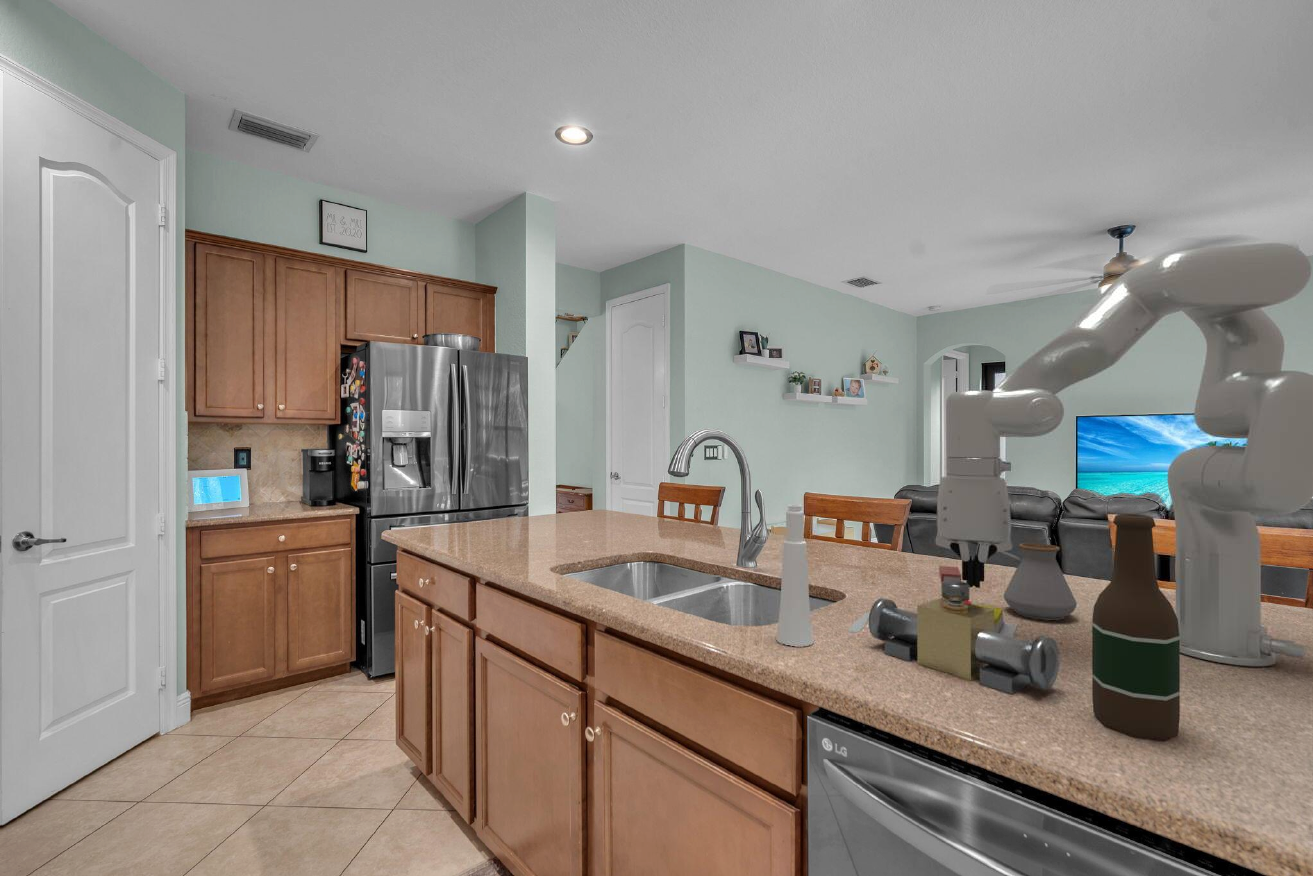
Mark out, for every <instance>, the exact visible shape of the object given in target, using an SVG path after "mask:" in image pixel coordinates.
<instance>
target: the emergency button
mask: <svg viewBox="0 0 1313 876" xmlns="http://www.w3.org/2000/svg"><path fill="white" fill-rule="evenodd" d="M937 599H938V598H933V600H937ZM963 603H967V604H972V605H976V606H981V607H985V608H990V609H994V632H995V633H999V634H1003V635H1007V636H1011V637H1014V636H1015V633H1016V631H1015V630H1017V628H1018V625H1017V624H1015V623H1010V622H1006V621H1005V622H1004V615H1003V614H1004V612H1003V609H1002V608H1001V607H998V606H996V607H995V606H989V605H983V604H975V603H972V602H971V601H970V600H967V601H963Z"/></svg>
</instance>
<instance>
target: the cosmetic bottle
mask: <svg viewBox="0 0 1313 876" xmlns="http://www.w3.org/2000/svg"><path fill="white" fill-rule="evenodd" d="M787 509H788V510H786V511H785V540H784V541H783V543H782V544H783V545H782V547H783V548H782V560H781V561H782V563H781V583H780V584H781V585H780V588H781V590H780V604H779V612H778V613H779V616H778V624H777V629H776V630H777V631H776V635H775V641H777V642H778V643H779V644H781V645H783V644H785V645H784V646H787V645H790V646H789V647H792V646H795V647H794V648H804V646H805V647H809V645H810V646H812V645H813V644H814V643H815V640H814V639H815V637H814V631H813V625H812V619H811V609H810V608H811V606H810V592H809V591H810V590H809V588H810V587H809V573H808V572H809V571H808V570H809V566H808V549H807V542H806V541H805V540H804V537H805V536H804V530H805V529H804V526H805V524H804V523H805V522H804V521H805V520H804V519H805V518H804V516H805V515H804V514H805V513H804V511H803V510H802V509H803V505H801V504H788V505H787Z"/></svg>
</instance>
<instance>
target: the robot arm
mask: <svg viewBox="0 0 1313 876" xmlns="http://www.w3.org/2000/svg"><path fill="white" fill-rule="evenodd" d="M1311 275H1312V266H1311V261H1310V259H1309V257H1308V256H1307V255H1306V254H1305V253H1304V252H1303V251H1302V250H1301V249H1299V248H1297V247H1295V246H1293V245H1289V244H1287V243H1280V242H1263V243H1262V242H1261V243H1252V244H1240V245H1225V246H1213V247H1201V248H1199V247H1198V248H1191V249H1182V250H1179V251H1178V250H1177V251H1174V252H1171V253H1168V254H1166V255H1162V256H1161V257H1158V258H1154V259H1153V260H1150V261H1148V262H1145V263H1143V264H1140V265H1137V266H1135V267H1133V268H1130V269H1129V270H1127V271H1126V272H1125V273H1123V274H1121V275H1120V276H1119V277H1118V278H1117V279H1116V280H1115V281H1113V282H1112V283H1111V285H1109V287H1108V288H1106V289H1105V291H1103V292H1102V294H1100V295H1099V296H1098V297H1097V298H1096V299H1095V301H1094V302H1093V303H1091V305H1089V307H1087V308H1086V309H1085V310H1084V312H1082V313H1081V314H1080V316H1079V317H1077V318H1076V319H1075V320H1074V321H1073V322H1072V323H1071V324H1070V325H1068V327H1067V328H1065V330H1064V331H1063V332H1061V333H1060V334H1059V335H1057V336H1056V337H1054V338H1053V339H1052V340H1051V341H1049V342H1048V343H1046V344H1045V345H1044V346H1043V347H1042V348H1039V350H1038V351H1037V352H1035V353H1033V354H1032V355H1031V356H1030V357H1029V358H1027V359H1026V360H1024V361H1023V362H1022V363H1020V364H1019V365H1018V366H1017V367H1015V368H1014V370H1012V371H1011V372H1010V373H1009V374H1008V375H1007V376H1006V377H1004V379H1003V380H1001V381H1000V382H999V384H997V386H996V387H994V389H992V390H983V389H982V390H980V389H975V390H972V389H971V390H958V391H954V392H952V393H950V394H949V395H948V396H947V398H946V402H945V404H946V405H945V416H946V417H945V418H946V419H945V422H946V423H945V425H946V426H945V428H946V429H945V432H946V433H945V436H946V437H945V438H946V442H945V443H946V444H945V445H946V446H945V447H946V448H945V451H946V455H945V456H946V457H945V458H946V460H945V462H946V463H945V464H946V465H945V466H946V467H945V469H946V471H945V472H946V473H945V474H946V476H941V477H940V480H939V485H938V493H937V502H936V503H937V505H936V530H937V531H936V532H937V534H936V538H935V540H934V541H935V545H936V546H938V547H941V548H946V549H948V550H951V551H952V552H954V554H956V555H957V556H958V557H959V558H960V559H961V581H966V582H965V583H967V584H969V588H973V587H974V588H977V589H980V588H981V583H982V582H984V583H985V563H986V562H987V561H988V559H990V558H991V557H992V556H993V555H994V554H995V553H997V552H1001V551H1004V552H1007V551H1011V550H1013V543H1012V540H1011V537H1012V521H1011V518H1012V517H1011V509H1010V508H1011V507H1010V506H1011V505H1010V498H1009V492H1008V491H1009V490H1008V486H1007V482H1006V479H1005V478H1004V477H1003V478H1002V477H1001V475H1002V473H1004V472H1007V471H1009V472H1011V470H1012V463H1011V462H1009V461H1008V462H1007V461H1003V460H1002V458H1000V457H1001V438H1036V437H1042V436H1045V435H1047V434H1050V433H1051V432H1053V431H1055V430H1056V429H1057V428H1058V427H1059V426H1060V425H1061V423H1062V422H1063V419H1064V417H1065V416H1064V415H1065V409H1064V404H1063V403H1062V401H1061V399H1060V398H1059V397H1058V396H1057V394H1058V393H1060V392H1061V391H1064V390H1065V389H1066V388H1068V387H1071V386H1073V385H1076V384H1077V383H1079V382H1082V381H1084V380H1087V379H1089V378H1091V377H1094V376H1096V375H1098V374H1100V373H1102V372H1103V371H1105V370H1107V369H1108V368H1110V367H1112V366H1114V365H1115V364H1116V363H1117V362H1119V361H1120V360H1121V359H1122V357H1124V355H1125V354H1126V353H1128V351H1130V350H1131V349H1132V347H1134V345H1135V344H1137V342H1138V341H1140V339H1142V338H1143V337H1144V336H1145V335H1146V334H1147V333H1148V332H1149V331H1150V330H1151V329H1152V328H1153V327H1154V326H1155V325H1156V324H1157V323H1158V322H1159V321H1161V320H1162V319H1163V318H1164V317H1166V316H1169V315H1171V314H1175V313H1178V312H1183V313H1184V314H1185V315H1186V316H1187V317H1188V318H1189V319H1190V320H1191V321H1192V322H1194V324H1195V325H1196V326H1197V327H1198V328H1199V330H1200V332H1201V333H1202V334H1203V337H1204V339H1205V342H1206V354H1205V360H1204V366H1203V370H1202V373H1201V374H1202V375H1201V379H1200V384H1199V388H1198V393H1197V397H1196V400H1195V406H1194V413H1193V417H1194V422H1195V424H1196V426H1197V428H1198V429H1199V430H1200V431H1201V432H1203V433H1204V434H1206V435H1209V436H1212V437H1214V438H1215V437H1216V438H1223V439H1224V438H1225V439H1239V440H1240V439H1241V440H1242V439H1247V440H1246V444H1245V446H1244V445H1243V446H1241V445H1204V446H1198V447H1193V448H1189V449H1187V450H1185V451H1183V452H1181V453H1179V454H1178V455H1177V456H1176V457H1175V458H1174V459H1173V460H1172V461H1171V463H1170V465H1169V467H1168V470H1167V478H1166V480H1167V487H1168V491H1169V494H1170V498H1171V499H1170V500H1171V504H1172V508H1173V514H1174V523H1175V614H1176V616H1177V619H1178V626H1179V636H1180V653H1181V654H1184V655H1187V656H1190V657H1193V658H1198V659H1201V660H1206V661H1208V662H1209V661H1210V662H1216V663H1220V664H1221V663H1222V664H1227V665H1234V666H1243V667H1268V666H1272V665H1275V664H1276V662H1277V655H1276V654H1280V655H1283V656H1286V657H1290V658H1295V659H1300V660H1305V659H1306V657H1305V656H1306V647H1305V646H1306V645H1304V644H1300V643H1296V641H1293V640H1288V639H1280V638H1274V637H1273V636H1272V635H1270V634H1268V626H1267V627H1266V626H1262V615H1261V614H1262V613H1261V612H1262V610H1261V608H1262V607H1261V605H1262V604H1261V602H1262V601H1261V599H1262V597H1261V595H1262V594H1261V591H1262V590H1261V589H1262V588H1261V587H1262V584H1261V583H1262V582H1261V580H1262V577H1261V574H1262V571H1261V566H1262V565H1261V562H1262V559H1261V557H1262V556H1261V555H1262V542H1261V537H1260V536H1261V535H1260V532H1259V529H1258V527H1257V524H1256V522H1255V520H1254V518H1253V515H1252V514H1257V515H1258V514H1259V515H1269V516H1284V515H1289V514H1293V513H1295V512H1298V511H1299V510H1301V509H1303V508H1304V507H1305V506H1306V505H1307V504H1309V503H1310V502H1311V500H1312V499H1313V374H1311V373H1307V372H1304V371H1299V370H1282V367H1283V360H1284V354H1285V353H1284V352H1285V340H1284V336H1283V334H1282V331H1281V330H1280V328H1279V327H1278V326H1277V324H1276V323H1275V322H1274V321H1273V320H1272V319H1271V317H1269V316H1268V314H1267V313H1265V311H1264V310H1263V309H1262V308H1267V307H1271V306H1275V305H1278V304H1282V303H1283V302H1286V301H1289V300H1291V299H1292V298H1294V297H1296V296H1298V295H1299V294H1300V293H1301V292H1302V291H1303V290H1304V289H1305V288H1306V287H1307V284H1308V283H1309V281H1310V279H1311ZM968 542H969V543H971V542H978V545H976V546H977V547H976V552H975V553H976V554H975V555H974V557H973V559H972V556H971V554H970V551H969V545H968V544H969V543H968Z"/></svg>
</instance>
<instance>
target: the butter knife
mask: <svg viewBox="0 0 1313 876" xmlns="http://www.w3.org/2000/svg"><path fill="white" fill-rule="evenodd" d="M869 614H870V612H865V613H863V614H862V615H863V616H862V615H861V616H860V618H858V619H857V620H855V621H854V623H852V624H853V625H852V624H851V625H850V627H849V628H848V629H849V630H848V632H850V631H851V633H859V632H861V631H862V630H861V629H864V627H865V625H866V623H867V621H868V620H869Z"/></svg>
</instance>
